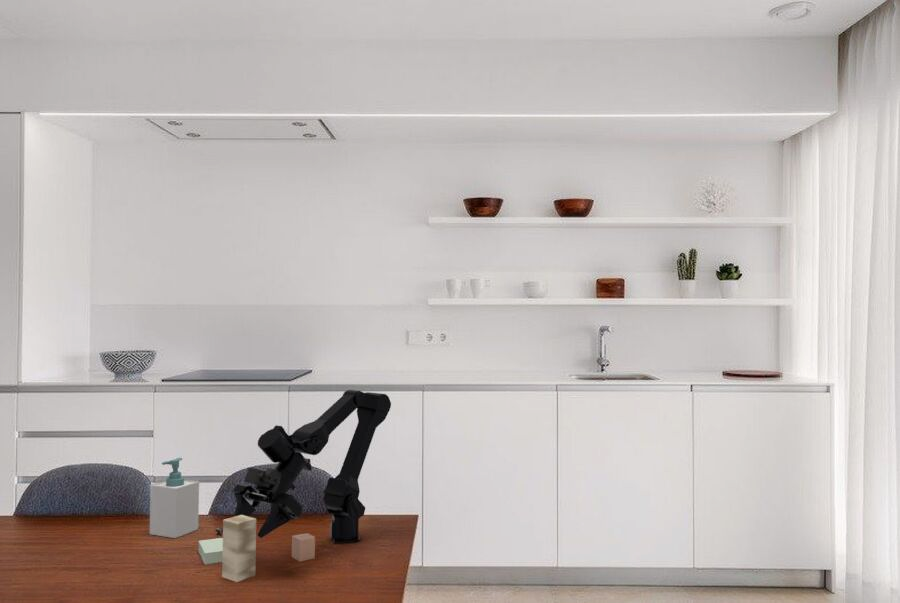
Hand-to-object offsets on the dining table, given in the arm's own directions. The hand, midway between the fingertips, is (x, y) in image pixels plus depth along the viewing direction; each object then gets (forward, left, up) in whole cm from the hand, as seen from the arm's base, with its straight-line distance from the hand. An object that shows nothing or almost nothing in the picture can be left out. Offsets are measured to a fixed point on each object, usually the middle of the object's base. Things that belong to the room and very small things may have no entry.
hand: (245, 532), depth 162 cm
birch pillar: (+1, +1, -9) cm, 9 cm away
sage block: (+4, -15, -10) cm, 18 cm away
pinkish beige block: (-14, -8, -9) cm, 18 cm away
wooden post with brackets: (+2, -33, -9) cm, 35 cm away
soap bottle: (+16, -37, -9) cm, 41 cm away
